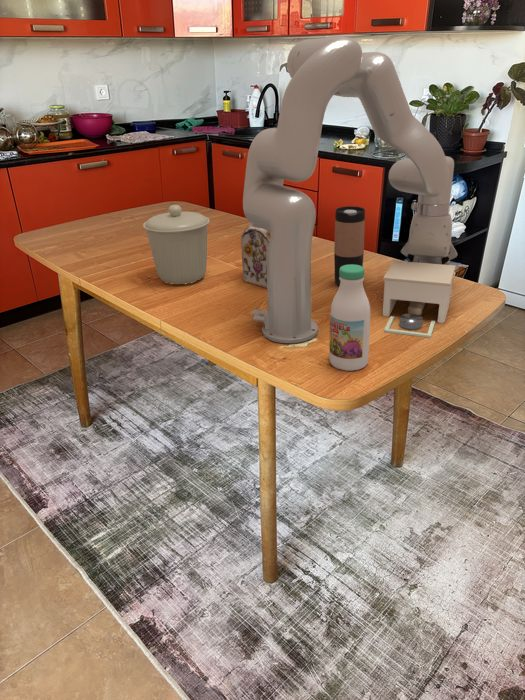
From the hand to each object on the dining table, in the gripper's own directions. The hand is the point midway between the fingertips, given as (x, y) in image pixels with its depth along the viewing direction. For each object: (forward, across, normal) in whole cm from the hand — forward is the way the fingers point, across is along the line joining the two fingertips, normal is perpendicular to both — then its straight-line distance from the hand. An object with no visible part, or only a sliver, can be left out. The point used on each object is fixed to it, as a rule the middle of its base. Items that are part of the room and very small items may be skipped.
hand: (426, 278), depth 146 cm
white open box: (+2, 0, -15) cm, 16 cm away
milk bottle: (+3, -9, -46) cm, 47 cm away
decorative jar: (+3, -41, -6) cm, 42 cm away
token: (+3, 0, -25) cm, 25 cm away
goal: (+2, 0, -26) cm, 26 cm away
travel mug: (+2, -20, -3) cm, 20 cm away
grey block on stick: (+2, 0, -8) cm, 8 cm away
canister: (+3, -66, -12) cm, 67 cm away
